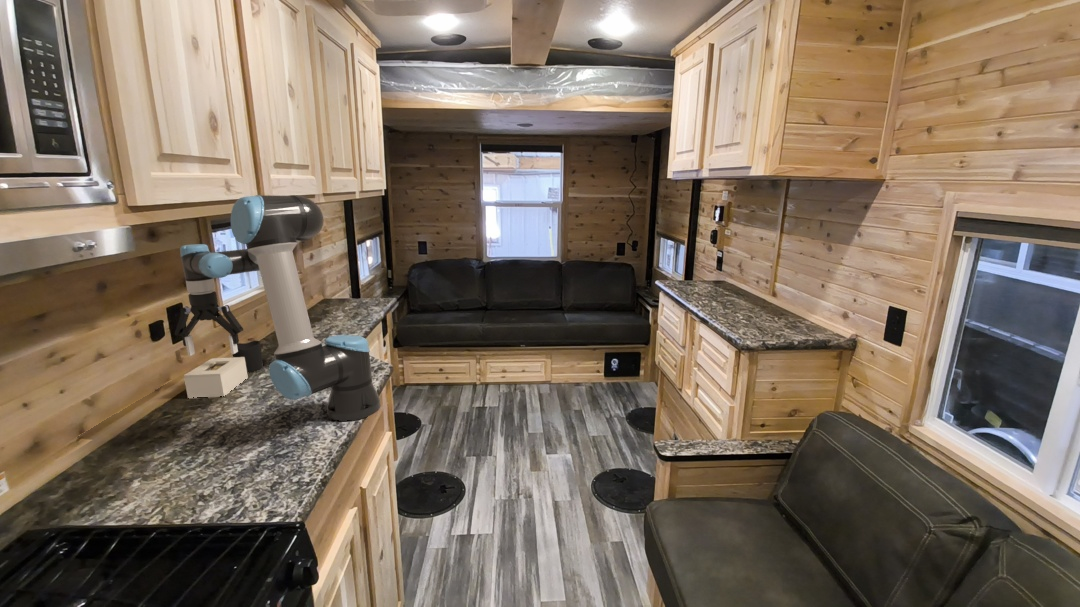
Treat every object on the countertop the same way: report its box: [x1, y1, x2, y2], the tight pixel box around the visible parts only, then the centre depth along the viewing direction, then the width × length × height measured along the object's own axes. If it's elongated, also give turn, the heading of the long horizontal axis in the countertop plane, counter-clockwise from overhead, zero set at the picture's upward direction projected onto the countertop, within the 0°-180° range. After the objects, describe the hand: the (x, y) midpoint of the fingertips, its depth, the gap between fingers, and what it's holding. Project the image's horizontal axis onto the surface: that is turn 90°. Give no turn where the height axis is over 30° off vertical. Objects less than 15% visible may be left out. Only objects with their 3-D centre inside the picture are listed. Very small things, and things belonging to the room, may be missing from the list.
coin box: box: [183, 356, 249, 399], centre depth 161 cm, size 16×11×8 cm
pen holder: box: [232, 340, 264, 374], centre depth 177 cm, size 9×9×10 cm
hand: (213, 353), depth 159 cm, fingers open, 13 cm apart
